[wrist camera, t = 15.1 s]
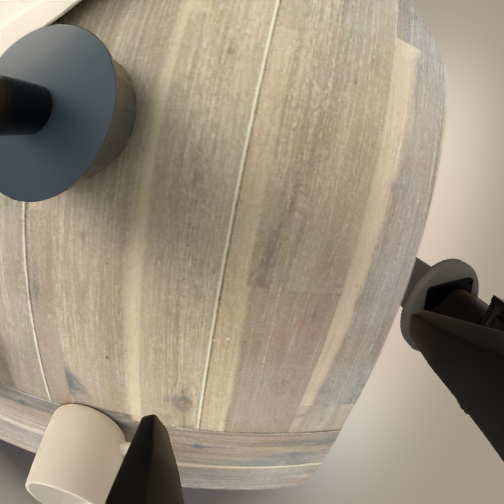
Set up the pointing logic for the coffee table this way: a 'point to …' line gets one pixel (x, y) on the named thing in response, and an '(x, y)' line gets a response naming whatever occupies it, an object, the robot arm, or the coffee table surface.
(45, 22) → the plate
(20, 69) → the lid
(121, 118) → the tin
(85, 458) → the mug
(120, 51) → the coffee table surface
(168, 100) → the coffee table surface
